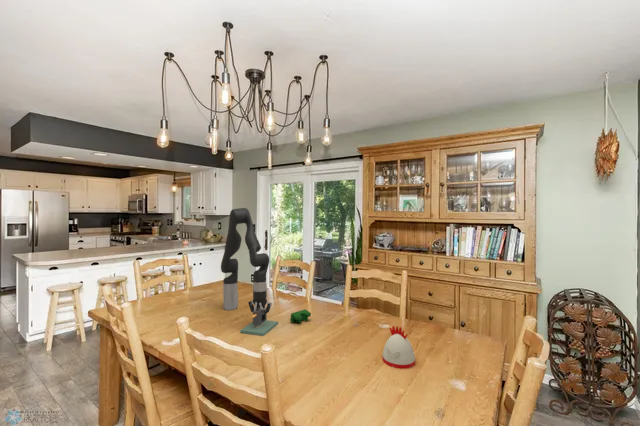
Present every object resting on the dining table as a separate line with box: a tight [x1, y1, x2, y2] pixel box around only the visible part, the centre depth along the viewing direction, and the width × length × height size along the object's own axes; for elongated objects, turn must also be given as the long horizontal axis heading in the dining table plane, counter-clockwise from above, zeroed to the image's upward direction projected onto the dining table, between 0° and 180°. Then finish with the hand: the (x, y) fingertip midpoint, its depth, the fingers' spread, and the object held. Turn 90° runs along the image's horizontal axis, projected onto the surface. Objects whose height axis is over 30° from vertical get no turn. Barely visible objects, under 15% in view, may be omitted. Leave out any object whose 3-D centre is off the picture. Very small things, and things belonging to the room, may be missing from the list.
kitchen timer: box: [382, 325, 416, 370], centre depth 136 cm, size 14×14×15 cm
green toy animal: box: [289, 309, 312, 325], centre depth 183 cm, size 12×6×9 cm, turn 129°
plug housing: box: [251, 308, 268, 325], centre depth 171 cm, size 12×4×7 cm, turn 163°
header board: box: [239, 319, 279, 337], centre depth 173 cm, size 18×14×6 cm
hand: (259, 320), depth 173 cm, fingers closed on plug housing, 3 cm apart
